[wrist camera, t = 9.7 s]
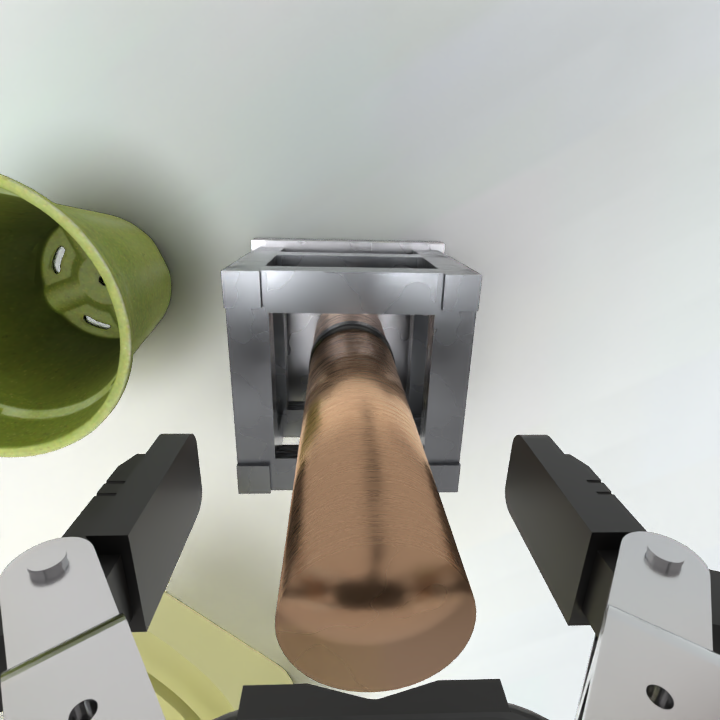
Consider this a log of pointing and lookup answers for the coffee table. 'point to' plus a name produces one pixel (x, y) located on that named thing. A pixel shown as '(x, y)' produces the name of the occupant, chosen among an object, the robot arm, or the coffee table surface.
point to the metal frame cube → (345, 296)
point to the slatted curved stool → (199, 663)
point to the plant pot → (68, 317)
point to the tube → (367, 528)
